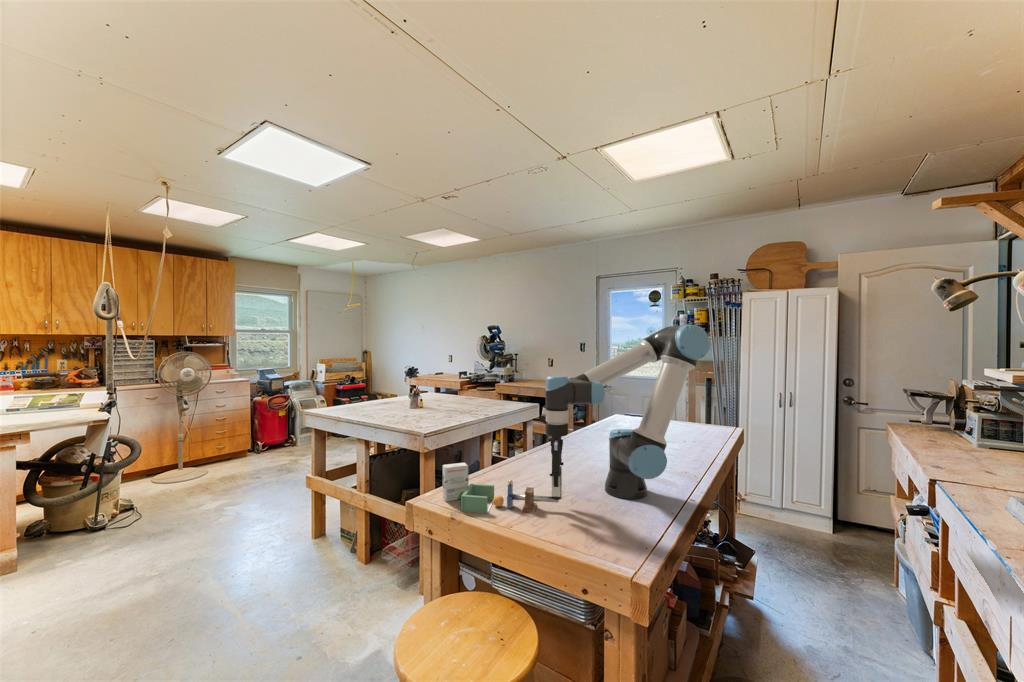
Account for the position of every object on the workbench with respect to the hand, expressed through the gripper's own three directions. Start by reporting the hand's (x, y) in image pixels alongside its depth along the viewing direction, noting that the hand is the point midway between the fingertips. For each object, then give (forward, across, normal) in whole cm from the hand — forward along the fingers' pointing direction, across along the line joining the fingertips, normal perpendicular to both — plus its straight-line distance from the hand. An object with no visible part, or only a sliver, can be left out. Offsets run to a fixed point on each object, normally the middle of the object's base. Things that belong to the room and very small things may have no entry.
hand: (556, 490), depth 130 cm
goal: (+7, 0, -28) cm, 28 cm away
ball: (+5, 0, -20) cm, 20 cm away
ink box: (+7, -5, -36) cm, 37 cm away
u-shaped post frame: (+7, 0, -8) cm, 10 cm away
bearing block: (+7, 0, -9) cm, 11 cm away
